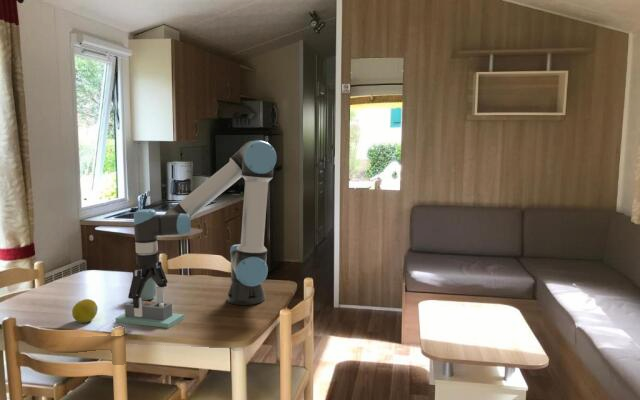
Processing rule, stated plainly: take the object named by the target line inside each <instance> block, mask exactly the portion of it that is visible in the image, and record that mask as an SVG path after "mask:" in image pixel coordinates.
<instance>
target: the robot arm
mask: <svg viewBox="0 0 640 400" xmlns="http://www.w3.org/2000/svg"><path fill="white" fill-rule="evenodd" d="M277 157H278V156H277V152H276V150H275V148H274V146H273V145H271V144H270V143H269V142H267V141H265V140H261V139H259V140H257V139H254V140H250V141H248V142H245V143H244V144H243V145H242V147H240V148H239V150H238V151H236V152H235V153H234V154H233V155H232V156H231V157H230V158H229V161H228V163H226V164H225V165H224V166H223V167H221V168H220V169H219V170H217V171H216V172H215V173H213V175H211V176H210V177H209V178H207V180H205V181H204V182H203V183H202V184H200V185H199V186H197V187H196V188H195V189H194V190H193V191H192V192H190V193H189V194H188V195H186V196H185V197H184V198H183V199H182V200H180V201H179V202H178V203H177V204H176V205H173V207H171V208H169V209H167V210H166V212H165V213H164V214H157V212H156V210H155V209H150V208H149V209H148V208H147V209H146V208H145V209H138V210H136V211H134V213H133V232H134V241H135V253H136V254H135V261H136V265H138V267H139V268H138V269H133V270H132V278H131V280H132V281H131V284H130V287H129V290H128V291H129V292H128V295H127V297H128V299H131V300H132V301H133V307H134V316H137V317H142V301H143V300H141V298H140V296H141V293H142V290H143V288H144V285H145V282H147V280H148V279H150V278H152V279H153V280H154V281H155V283H156V286H157V287H156V302H160V303H165V287H166V288H167V286H168V285H167V284H168V279H167V276H166V274H165V272H164V268H163V265H162V262H161V261H159V253H158V251H159V248H158V247H159V245H158V237H159V236H161V237H163V236H176V235H178V236H179V235H180V236H182V235H188V234H191V232H192V231H191V230H192V227H191V226H192V224H191V223H192V222H191V219H192V218H193V217H194V216H195V215H197V214H198V213H199V212H200V211H201V210H203V209H204V208H205V207H206V206H207V205H209V204H210V203H211V202H213V201H214V200H215V199H216V198H218V196H220V195H221V194H222V193H224V192H225V191H226V190H228V189H229V188H230V187H232V186H233V185H234V184H235V183H236V182H237V181H238V180H240V179H241V178H243V179H244V191H243V193H244V195H243V205H242V218H241V219H242V220H241V235H240V243H239V244H233V245H232V246H230V251H229V253H230V272H231V273H230V274H231V275H230V276H231V278H230V279H231V283H230V285H229V289H228V292H227V302H228V303H229V304H232V305H236V306H250V305H251V306H253V305H257V304H259V303H262V302H264V301H265V300H266V293H265V290H264V287H263V284H262V283H263V282H265V280H266V278H267V277H268V272H269V268H268V264H267V257H268V256H267V255H268V249H267V247H265V245H264V243H265V231H266V218H267V216H266V215H267V205H268V204H267V203H268V193H269V182H270V181H271V180H272V179H273V178H274V168H275V165H276V163H277ZM141 277H142V278H141Z"/></svg>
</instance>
